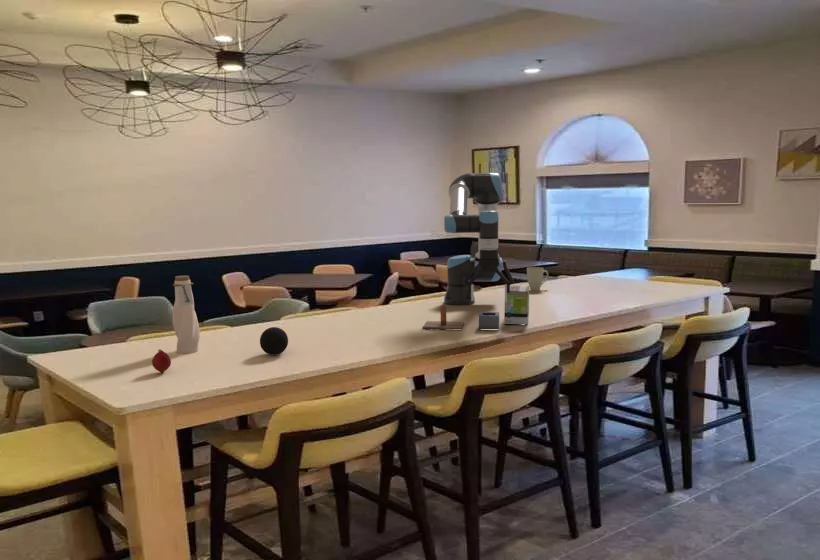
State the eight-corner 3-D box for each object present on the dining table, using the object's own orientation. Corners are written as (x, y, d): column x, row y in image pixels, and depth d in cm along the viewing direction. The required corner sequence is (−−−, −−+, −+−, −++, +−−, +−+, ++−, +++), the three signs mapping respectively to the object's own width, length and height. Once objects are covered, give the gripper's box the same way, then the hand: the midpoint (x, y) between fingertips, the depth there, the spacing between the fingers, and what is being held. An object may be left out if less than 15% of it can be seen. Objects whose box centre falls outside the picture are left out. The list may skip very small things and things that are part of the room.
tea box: (528, 325, 282) (528, 290, 280) (503, 325, 284) (503, 290, 282) (529, 318, 296) (529, 285, 294) (506, 317, 298) (506, 284, 296)
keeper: (426, 323, 290) (426, 302, 289) (464, 324, 287) (463, 302, 286) (422, 329, 278) (422, 307, 277) (461, 330, 276) (461, 308, 274)
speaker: (276, 359, 237) (274, 331, 235) (254, 356, 242) (253, 329, 240) (294, 352, 246) (293, 325, 244) (273, 349, 250) (271, 323, 249)
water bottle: (206, 351, 250) (201, 276, 246) (183, 356, 244) (177, 279, 240) (193, 346, 257) (188, 274, 253) (170, 351, 251) (165, 276, 247)
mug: (541, 292, 360) (541, 269, 358) (524, 290, 365) (524, 268, 364) (548, 289, 369) (549, 267, 368) (531, 287, 375) (531, 266, 373)
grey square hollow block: (480, 325, 283) (480, 311, 282) (499, 326, 282) (499, 312, 281) (478, 330, 275) (478, 315, 274) (498, 330, 274) (498, 316, 273)
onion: (166, 369, 228) (164, 346, 226) (175, 372, 224) (173, 348, 223) (149, 373, 223) (147, 349, 222) (158, 376, 219) (156, 352, 218)
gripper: (457, 249, 272) (457, 301, 275) (520, 249, 268) (519, 302, 271) (459, 248, 279) (459, 298, 282) (520, 248, 275) (520, 299, 278)
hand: (489, 300), depth 276 cm, fingers open, 13 cm apart
